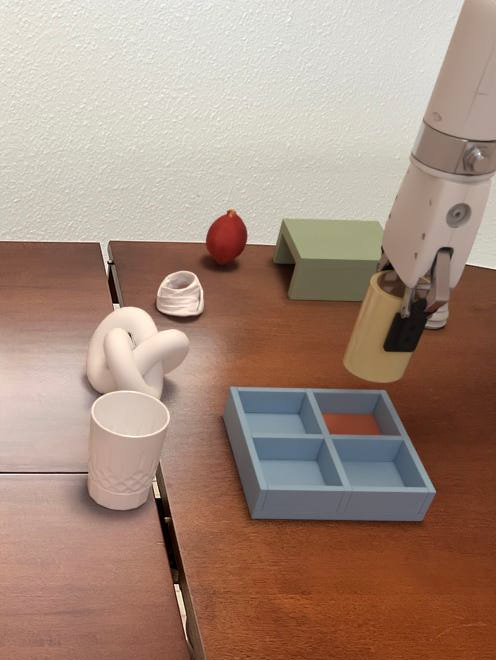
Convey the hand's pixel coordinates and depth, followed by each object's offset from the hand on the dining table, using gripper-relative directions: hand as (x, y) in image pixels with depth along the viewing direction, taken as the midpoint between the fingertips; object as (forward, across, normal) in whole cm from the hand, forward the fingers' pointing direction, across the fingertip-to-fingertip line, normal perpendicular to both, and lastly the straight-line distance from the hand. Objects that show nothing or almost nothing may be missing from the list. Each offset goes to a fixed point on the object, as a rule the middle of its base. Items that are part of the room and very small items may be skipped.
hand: (387, 329), depth 92 cm
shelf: (+14, +39, -8) cm, 42 cm away
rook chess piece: (+14, +28, -19) cm, 36 cm away
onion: (+14, +43, +7) cm, 46 cm away
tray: (+14, -4, +4) cm, 16 cm away
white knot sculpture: (+15, +9, +24) cm, 30 cm away
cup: (+4, 0, 0) cm, 4 cm away
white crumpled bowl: (+14, +30, +15) cm, 36 cm away
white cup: (+15, -9, +27) cm, 32 cm away
